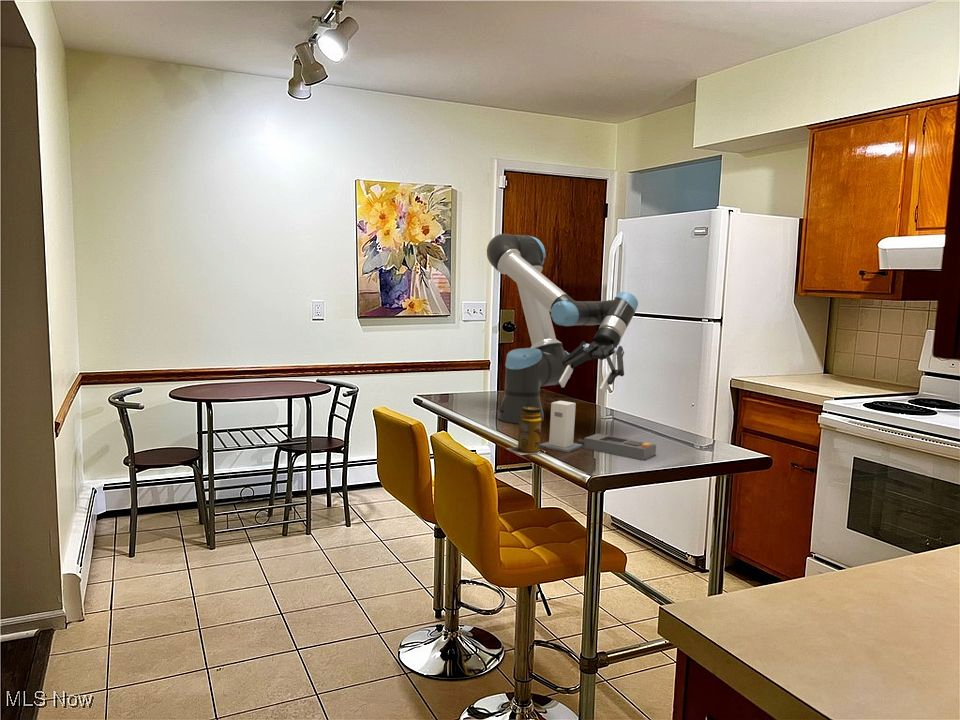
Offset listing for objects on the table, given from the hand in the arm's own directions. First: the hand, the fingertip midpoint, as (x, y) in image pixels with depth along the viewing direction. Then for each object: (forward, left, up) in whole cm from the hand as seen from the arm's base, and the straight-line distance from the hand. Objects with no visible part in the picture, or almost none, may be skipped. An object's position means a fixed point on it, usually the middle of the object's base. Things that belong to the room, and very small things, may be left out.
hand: (581, 388), depth 208 cm
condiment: (+20, -8, -16) cm, 27 cm away
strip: (+5, +12, -16) cm, 20 cm away
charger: (+10, -2, -15) cm, 18 cm away
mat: (+10, -2, -16) cm, 18 cm away
